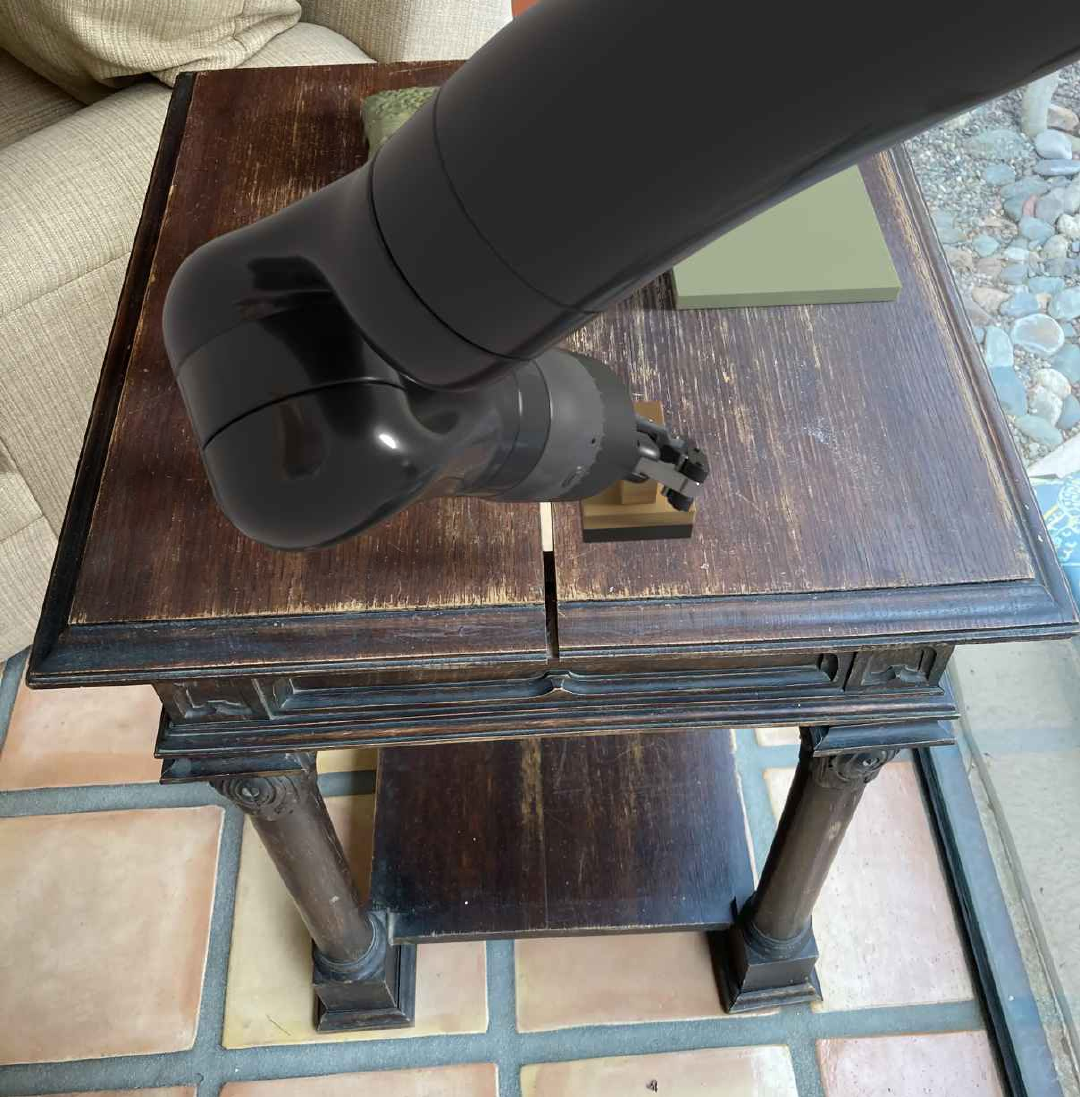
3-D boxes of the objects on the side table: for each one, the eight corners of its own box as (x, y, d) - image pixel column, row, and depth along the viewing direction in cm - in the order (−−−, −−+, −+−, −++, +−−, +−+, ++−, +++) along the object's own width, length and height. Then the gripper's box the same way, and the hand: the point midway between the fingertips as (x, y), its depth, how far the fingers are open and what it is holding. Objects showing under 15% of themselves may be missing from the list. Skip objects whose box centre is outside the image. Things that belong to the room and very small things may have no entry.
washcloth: (566, 175, 95) (566, 144, 92) (371, 198, 93) (366, 167, 91) (541, 94, 102) (541, 63, 100) (360, 114, 101) (355, 83, 98)
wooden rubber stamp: (684, 494, 70) (700, 389, 61) (691, 538, 68) (709, 435, 59) (579, 499, 70) (581, 395, 61) (582, 543, 68) (586, 441, 59)
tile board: (896, 300, 85) (901, 286, 84) (675, 310, 85) (677, 295, 83) (826, 102, 101) (829, 88, 100) (640, 110, 101) (641, 95, 100)
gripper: (689, 421, 46) (788, 439, 61) (450, 287, 51) (596, 335, 66) (611, 568, 48) (726, 550, 63) (389, 424, 53) (544, 440, 68)
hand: (658, 439), depth 65 cm, fingers closed on wooden rubber stamp, 3 cm apart
